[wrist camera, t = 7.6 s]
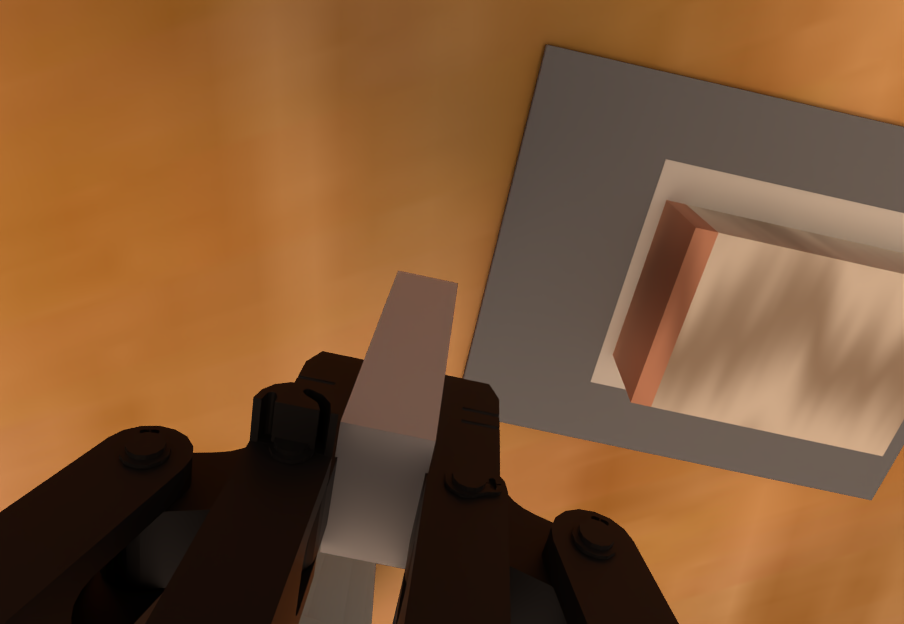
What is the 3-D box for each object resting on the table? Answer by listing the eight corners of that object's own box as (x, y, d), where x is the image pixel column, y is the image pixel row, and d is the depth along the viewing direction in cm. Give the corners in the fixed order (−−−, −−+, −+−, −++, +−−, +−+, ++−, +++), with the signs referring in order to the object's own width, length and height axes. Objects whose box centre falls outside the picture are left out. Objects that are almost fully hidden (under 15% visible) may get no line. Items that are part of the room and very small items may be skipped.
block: (695, 227, 22) (977, 290, 23) (666, 199, 26) (909, 254, 26) (630, 402, 25) (882, 456, 25) (612, 355, 29) (832, 402, 29)
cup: (362, 451, 32) (308, 631, 22) (422, 566, 35) (395, 770, 25) (227, 492, 34) (122, 676, 24) (294, 599, 36) (223, 804, 27)
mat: (545, 44, 24) (547, 44, 24) (1054, 162, 25) (1067, 165, 25) (456, 405, 31) (455, 412, 30) (864, 492, 31) (872, 501, 31)
